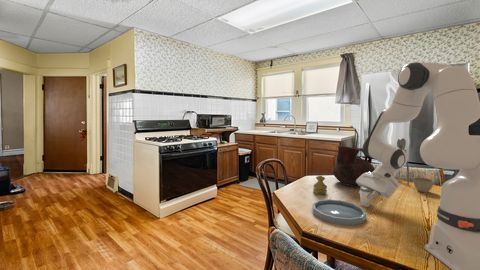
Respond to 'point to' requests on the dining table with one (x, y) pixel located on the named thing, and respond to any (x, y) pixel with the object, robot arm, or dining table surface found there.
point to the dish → (339, 212)
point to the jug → (351, 165)
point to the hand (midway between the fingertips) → (364, 196)
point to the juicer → (401, 144)
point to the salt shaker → (320, 186)
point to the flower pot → (423, 184)
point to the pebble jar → (365, 196)
